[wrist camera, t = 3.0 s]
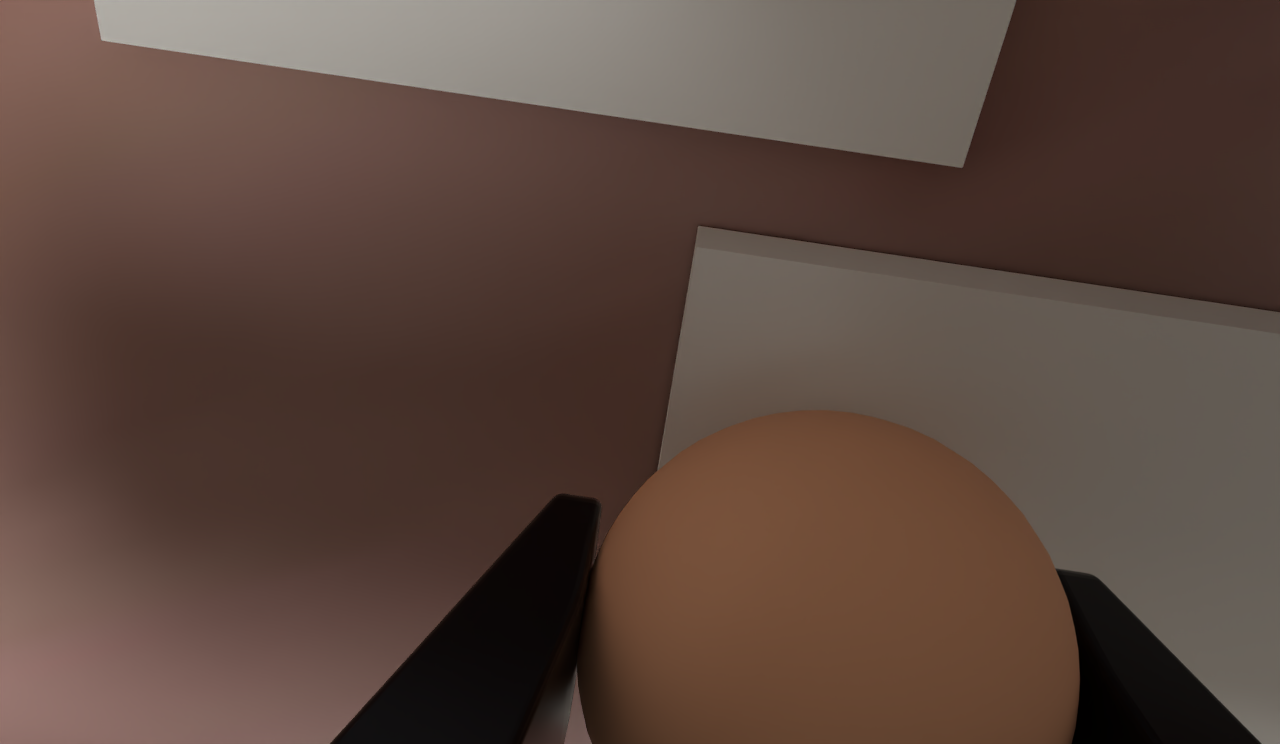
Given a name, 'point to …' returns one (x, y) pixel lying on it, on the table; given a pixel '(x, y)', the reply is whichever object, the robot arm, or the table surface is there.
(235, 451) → the table surface
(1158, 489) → the mat
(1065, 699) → the terracotta ball
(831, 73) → the card
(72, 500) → the table surface
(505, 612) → the robot arm
